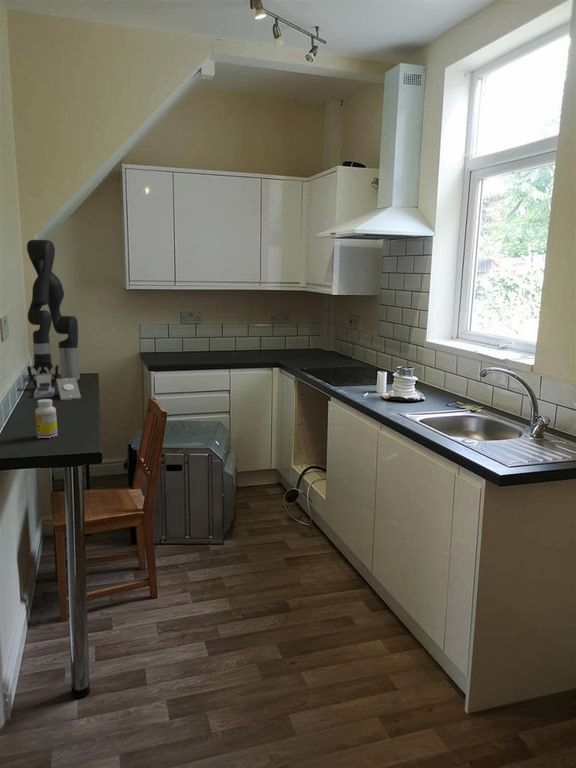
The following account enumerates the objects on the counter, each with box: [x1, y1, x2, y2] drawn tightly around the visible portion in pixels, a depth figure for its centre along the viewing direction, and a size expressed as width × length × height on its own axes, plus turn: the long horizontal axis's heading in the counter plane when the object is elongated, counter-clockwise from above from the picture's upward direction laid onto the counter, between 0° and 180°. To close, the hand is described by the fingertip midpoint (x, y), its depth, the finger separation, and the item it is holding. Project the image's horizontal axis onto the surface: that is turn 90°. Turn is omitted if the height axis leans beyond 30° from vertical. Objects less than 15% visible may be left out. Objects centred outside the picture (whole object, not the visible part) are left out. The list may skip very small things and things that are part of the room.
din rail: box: [38, 382, 50, 394], centre depth 274 cm, size 14×4×3 cm, turn 18°
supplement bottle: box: [34, 398, 58, 439], centre depth 203 cm, size 7×7×13 cm
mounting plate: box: [33, 387, 56, 399], centre depth 274 cm, size 14×8×2 cm, turn 18°
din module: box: [36, 373, 53, 389], centre depth 284 cm, size 5×6×7 cm
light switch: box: [55, 378, 82, 402], centre depth 268 cm, size 8×6×14 cm
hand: (44, 387), depth 285 cm, fingers closed on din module, 6 cm apart
